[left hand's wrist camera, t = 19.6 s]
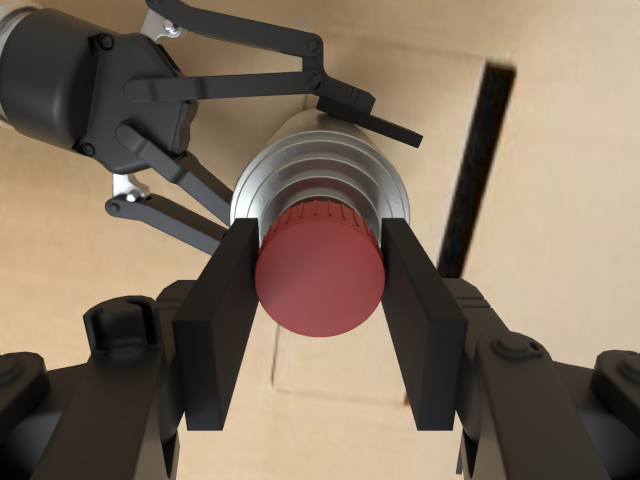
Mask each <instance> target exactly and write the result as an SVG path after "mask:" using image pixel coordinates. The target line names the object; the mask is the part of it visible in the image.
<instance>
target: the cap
mask: <svg viewBox="0 0 640 480" xmlns="http://www.w3.org/2000/svg"><path fill="white" fill-rule="evenodd" d="M383 259H384V258H383V255H382V252H381V250H380V247H379V244H378V241H377V240H376V237H375V234H374V232H373V229H370V228H369V226H368V225H367V222H366V220H365V219H362V218H361V217H360V216H359V215H358V214H357V213H356V211H355V210H353V211H352V210H351V209H349V208H347V207H345V206H344V204H341V205H340V204H336V203H333V202H331V201H329V200H328V202H326V201H317V200H314V202H307V203H303V202H302V203H301V204H300V205H297V206H295V207H293V208H291V207H290V208H288V210H287V211H286V212H285V213H283V214H282V215H281V216H280V215H278V217H277V220H276V221H275V222H274V223H273V224H272V225H270V226H269V228H268V231H267V234H266V236H264V238H263V240H262V243H261V246H260V249H259V251H258V258H257V261H256V263H255V276H254V278H255V288H256V293H257V295H258V298H259V301H260V303H261V305H262V306H263V308H264V309H265V311H266V312H267V313H268V314H269V316H270V317H271V318H272V319H273V320H274V321H276V322H277V323H278V324H279V325H281V326H283V327H284V328H286V329H288V330H290V331H292V332H295V333H297V334H300V335H305V336H310V337H330V336H335V335H339V334H342V333H345V332H348V331H350V330H352V329H354V328H356V327H357V326H359V325H360V324H362V323H363V322H364V321H365V320H367V318H368V317H369V316H370V315H371V314H372V313H373V312H374V310H375V309H376V308H377V306H378V304H379V302H380V300H381V298H382V295H383V291H384V287H385V268H384V265H383V261H382V260H383Z"/></svg>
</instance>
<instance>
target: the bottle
mask: <svg viewBox="0 0 640 480" xmlns="http://www.w3.org/2000/svg"><path fill="white" fill-rule="evenodd" d="M314 200H317V201H326V202H328V200H329V201H331V202H333V203H336V204H340V205H341V204H344V206H345V207H347V208H349V209H351V210H352V211H353V210H355V211H356V213H357V214H358V215H359V216H360V217H361V218H362V219H365V220H366V222H367V225H368V226H369V228H370V229H373V232H374V234H375V237H376V240H377V241H378V244H379V247H380V241H381V223H382V218H404V219H405V220H406V222H407V223H408V225H410V207H409V200H408V196H407V192H406V189H405V186H404V184H403V182H402V180H401V178H400V176H399V174H398V173H397V171H396V169H395V168H394V166H393V165H392V164H391V163H390V162H389V161H388V159H387V158H386V157H385V156H384V155H383V154H382V153H381V151H380V150H379V149H378V148H377V147H376V146H375V145H374V144H373V142H372V141H371V140H370V139H369V138H368V137H367V136H366V135H365V133H364V132H363V131H362V130H361V129H360V128H359V127H358V126H357V125H356V124H353V123H351V122H348V121H345V120H343V119H340V118H338V117H335V116H332V115H330V114H327V113H324V112H322V111H319V110H317V109H316V108H311V109H307V110H304V111H301V112H299V113H297V114H295V115H293V116H292V117H291V118H289V119H288V120H287V121H286V122H285V123H284V124H283V125H282V126H281V128H280V129H279V130H278V131H277V132H276V133H275V134H274V135H273V136H272V138H271V139H270V140H269V141H268V142H267V143H266V144H265V145H264V147H263V148H262V149H261V150H260V151H259V152H258V153H257V154H256V156H255V157H254V158H253V159H252V160H251V161H250V162H249V164H248V165H247V166H246V168H245V169H244V170H243V172H242V174H241V176H240V177H239V179H238V181H237V184H236V186H235V189H234V191H233V195H232V199H231V205H230V227H231V225H232V223H233V222H234V220H235V219H236V218H258V223H259V241H260V246H261V243H262V240H263V238H264V236H266V234H267V231H268V228H269V226H270V225H272V224H273V223H274V222H275V221H276V220H277V217H278V215H280V216H281V215H282V214H283V213H285V212H286V211H287V210H288V208H290V207H291V208H293V207H295V206H297V205H300V204H301V203H302V202H303V203H307V202H314Z"/></svg>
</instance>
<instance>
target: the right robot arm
mask: <svg viewBox="0 0 640 480" xmlns="http://www.w3.org/2000/svg"><path fill="white" fill-rule="evenodd" d="M146 3H147V5H148V7H149V11H148V13H147V16H146V18H145V21H144V23H143V26H142V28H141V31H140V33H131V34H118V33H115V32H113V31H110V30H108V29H105V28H102V27H100V26H97V25H95V24H92V23H89V22H87V21H84V20H81V19H79V18H76V17H74V16H71V15H68V14H66V13H63V12H61V11H58V10H55V9H51V8H43V7H42V6H41V5H40V4H39V3H37V2H34V1H32V0H0V127H1V128H5V129H8V130H17V131H18V132H19V133H21V134H23V135H25V136H28V137H31V138H34V139H37V140H39V141H42V142H45V143H48V144H51V145H54V146H57V147H60V148H63V149H66V150H68V151H71V152H74V153H77V154H81V155H84V156H87V157H91V158H93V159H95V160H97V161H98V162H99V163H101V164H102V165H103V166H104V167H105V168H106V169H107V170H108V171H110V172H111V173H112V177H113V198H111V199H109V200H108V201H107V202H106V203H105V209H106V211H107V213H108V214H110V215H111V216H114V217H119V218H126V219H132V220H139V221H142V222H144V223H146V224H148V225H150V226H152V227H154V228H157V229H159V230H161V231H163V232H165V233H167V234H169V235H171V236H173V237H175V238H177V239H179V240H181V241H183V242H185V243H187V244H189V245H191V246H193V247H195V248H197V249H199V250H201V251H203V252H205V253H207V254H209V255H211V256H212V255H213V254H214V252H215V251H216V249H217V247H218V246H219V244H220V243H221V241H222V239H223V238H224V236H225V235H226V233H227V231H228V229H226V228H224V227H222V226H220V225H218V224H216V223H214V222H212V221H211V220H209V219H207V218H205V217H203V216H201V215H199V214H197V213H195V212H193V211H191V210H189V209H187V208H185V207H183V206H181V205H179V204H177V203H175V202H173V201H171V200H169V199H167V198H165V197H163V196H160V195H157V194H153V193H150V189H149V187H148V186H147V185H145V184H143V183H140V182H139V181H137V179H136V178H135V176H134V173H135V172H138V171H142V170H145V169H148V168H153V169H154V170H155V171H157V172H158V173H159V174H160V175H162V176H163V177H164V178H165V179H166V180H168V181H169V182H171V183H174V184H177V185H178V186H180V187H181V188H182V189H183V190H185V191H186V192H187V193H188V194H190V195H191V196H192V197H193V198H194V199H196V200H197V201H198V202H199V203H200V204H202V205H203V206H204V207H205V208H206V209H208V210H209V211H210V212H211V213H213V214H214V215H215V216H216V217H217V218H219V219H220V220H221V221H222V222H223V223H225V224H226V225H227V226H228V227H230V205H231V199H232V195H233V191H231V190H230V189H229V188H228V187H227V186H226V185H224V184H223V183H222V182H221V181H220V180H218V179H217V178H216V177H215V176H214V175H213V174H211V173H210V172H209V171H208V170H207V169H206V168H204V167H203V166H202V165H201V164H200V163H199V161H198V159H197V158H196V157H195V156H194V155H193V154H192V153H190V152H189V151H188V150H187V149H188V145H189V141H190V124H191V123H192V121H193V119H194V117H195V116H196V113H197V109H198V105H199V102H197V99H212V98H232V97H252V96H272V95H292V94H314V95H317V96H319V97H320V98H319V101H318V104H317V106H316V109H317V110H319V111H322V112H324V113H327V114H330V115H332V116H335V117H338V118H340V119H343V120H345V121H348V122H351V123H353V124H356V125H358V126H361V127H364V128H366V129H369V130H371V131H374V132H377V133H379V134H382V135H384V136H387V137H390V138H392V139H395V140H397V141H400V142H403V143H405V144H408V145H410V146H413V147H416V148H418V147H419V145H420V143H421V141H422V138H423V136H422V135H420V134H418V133H416V132H414V131H411V130H409V129H406V128H404V127H401V126H398V125H396V124H393V123H391V122H388V121H386V120H383V119H380V118H378V117H375V116H373V115H370V113H371V110H372V108H373V105H374V102H375V100H376V99H375V98H374V97H373V96H372V95H371V94H370V93H368V92H366V91H363V90H361V89H358V88H356V87H353V86H351V85H348V84H346V83H343V82H341V81H338V80H336V79H333V78H331V77H329V76H328V75H327V74H326V72H325V70H324V66H323V41H322V39H321V38H320V37H319V36H318V35H316V34H313V33H309V32H304V31H299V30H295V29H290V28H286V27H281V26H276V25H272V24H267V23H263V22H258V21H253V20H249V19H244V18H240V17H235V16H230V15H226V14H221V13H217V12H212V11H207V10H203V9H198V8H193V7H190V6H189V5H187V4H186V3H184V2H183V1H181V0H146ZM188 31H191V32H193V33H196V34H198V35H201V36H204V37H208V38H213V39H218V40H222V41H227V42H232V43H236V44H241V45H246V46H250V47H255V48H260V49H265V50H269V51H274V52H279V53H283V54H288V55H293V56H297V57H302V72H282V73H263V74H243V75H223V76H202V77H185V76H184V75H183V73H182V72H181V71H180V69H179V68H178V67H177V65H176V64H175V62H174V61H173V60H172V58H171V57H170V56H169V54H168V53H167V52H166V50H165V49H164V47H163V46H162V45H161V43H162V42H163V40H165V39H166V38H174V39H183V38H184V37H185V36H186V35H187V33H188Z"/></svg>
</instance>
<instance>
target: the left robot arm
mask: <svg viewBox="0 0 640 480" xmlns="http://www.w3.org/2000/svg"><path fill="white" fill-rule="evenodd" d="M259 249H260V241H259V223H258V218H236V219H235V220H234V222H233V223H232V225H231V227H230V228H229V230H228V231H227V233H226V235H225V236H224V238H223V239H222V241H221V243H220V244H219V246H218V247H217V249H216V251H215V252H214V254H213V255H212V257H211V259H210V260H209V262H208V263H207V265H206V267H205V268H204V270H203V271H202V273H201V275H200V276H199V278H198V279H197V280H177V281H176V282H174V283H172V284H171V285H169V286H167V287H166V288H164V289H163V291H162V292H161V293H160V294H159V296H158V297H157V298H156V301H155V300H154V299H152V298H150V297H146V296H123V297H118V298H113V299H110V300H107V301H104V302H101V303H99V304H97V305H96V306H94V307H92V308H90V309H89V310H88V311H87V312H86V313H85V314H84V315H83V320H84V324H85V329H86V333H87V337H88V342H89V346H90V350H91V355H90V357H89V359H88V361H87V363H84V364H80V365H75V366H70V367H65V368H60V369H55V370H50V371H47V370H46V366H45V362H44V359H43V358H42V357H41V356H40V355H39V354H37V353H31V352H17V353H8V354H4V355H0V480H176V474H177V466H178V457H179V449H180V444H179V437H178V431H177V428H178V425H179V423H180V421H181V418H182V416H183V413H184V411H185V418H186V425H187V431H222V430H223V427H224V423H225V420H226V416H227V413H228V409H229V406H230V402H231V398H232V395H233V391H234V388H235V384H236V381H237V377H238V374H239V370H240V366H241V363H242V359H243V356H244V352H245V349H246V345H247V341H248V338H249V334H250V331H251V327H252V324H253V320H254V317H255V313H256V309H257V306H258V302H259V298H258V295H257V293H256V288H255V278H254V276H255V263H256V261H257V258H258V251H259ZM380 250H381V252H382V255H383V258H384V259H383V260H382V261H383V265H384V268H385V287H384V291H383V295H382V298H381V302H382V306H383V309H384V313H385V317H386V320H387V324H388V327H389V331H390V334H391V338H392V341H393V345H394V349H395V352H396V356H397V359H398V363H399V366H400V370H401V374H402V377H403V381H404V384H405V388H406V391H407V395H408V398H409V402H410V406H411V409H412V413H413V416H414V420H415V423H416V427H417V430H418V431H453V425H454V418H455V411H457V414H458V416H459V418H460V421H461V423H462V426H463V431H462V437H461V444H460V450H459V456H458V463H457V469H456V474H462V469H463V473H464V480H640V353H639V354H638V353H637V352H633V351H623V350H610V351H604V352H602V353H601V354H600V355H598V356H597V359H596V363H595V366H594V369H590V368H585V367H579V366H574V365H569V364H564V363H560V362H556V361H552V359H551V356H550V354H549V353H548V351H547V350H546V349H545V348H544V347H543V345H541V344H540V343H538V342H537V341H535V340H534V339H532V338H530V337H528V336H525V335H523V334H520V333H516V332H512V331H509V329H508V328H507V327H506V325H505V324H504V323H503V321H502V320H501V319H500V318H499V316H498V315H497V314H496V312H495V311H494V310H493V308H491V307H490V304H489V303H488V302H487V301H486V299H484V297H483V295H482V294H481V293H480V291H479V290H478V289H477V288H476V287H475V286H473V285H472V284H470V283H468V282H467V281H465V280H464V279H442V278H441V276H440V275H439V273H438V271H437V270H436V268H435V267H434V265H433V263H432V262H431V260H430V259H429V257H428V255H427V254H426V252H425V251H424V249H423V247H422V246H421V244H420V243H419V241H418V239H417V238H416V236H415V235H414V233H413V231H412V230H411V228H410V227H409V225H408V223H407V222H406V220H405V219H404V218H382V223H381V241H380Z"/></svg>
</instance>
